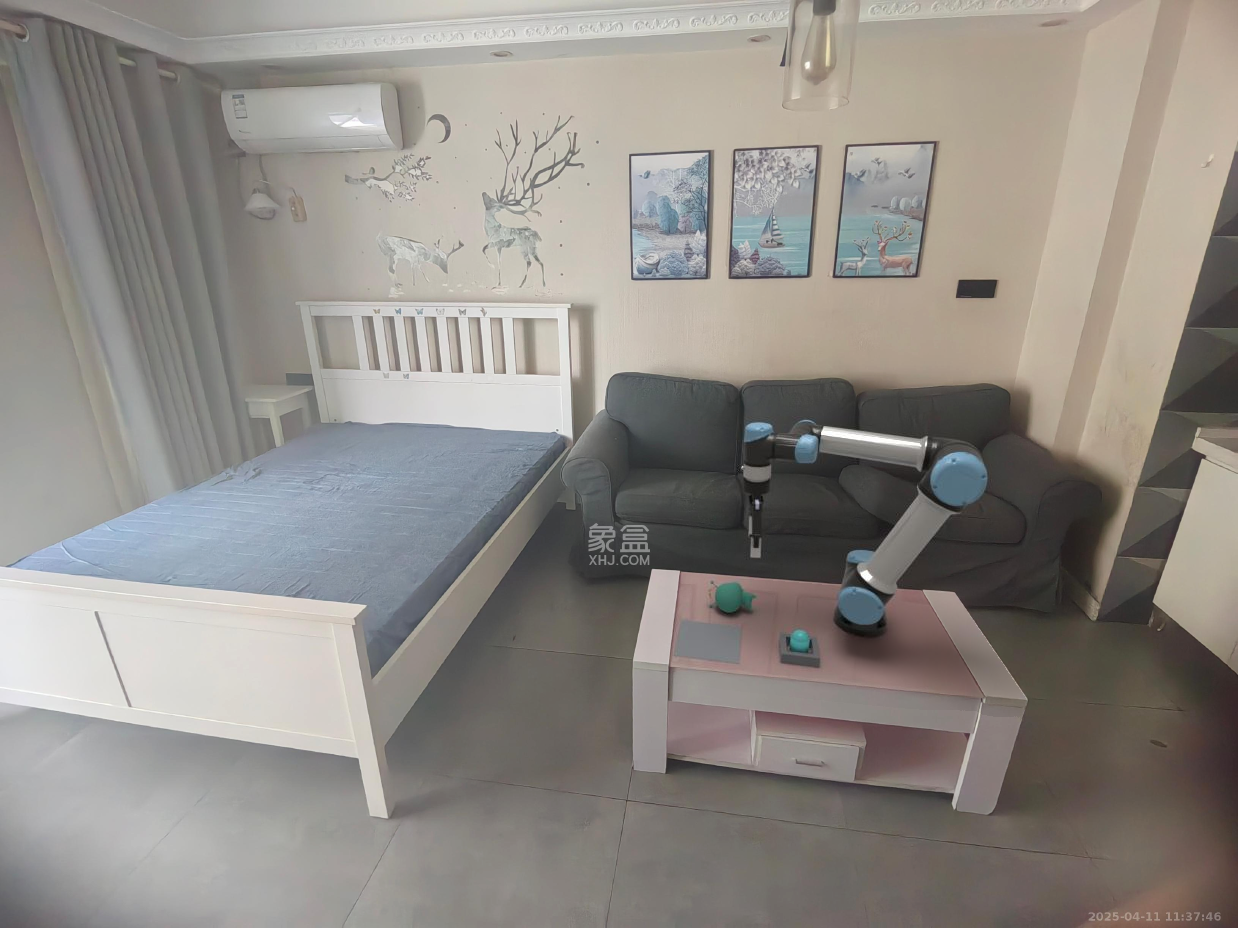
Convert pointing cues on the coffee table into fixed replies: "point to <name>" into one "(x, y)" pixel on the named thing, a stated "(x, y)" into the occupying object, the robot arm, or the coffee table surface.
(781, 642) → the dome housing
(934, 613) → the coffee table surface
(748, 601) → the toy
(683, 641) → the mat
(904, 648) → the coffee table surface
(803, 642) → the dome
